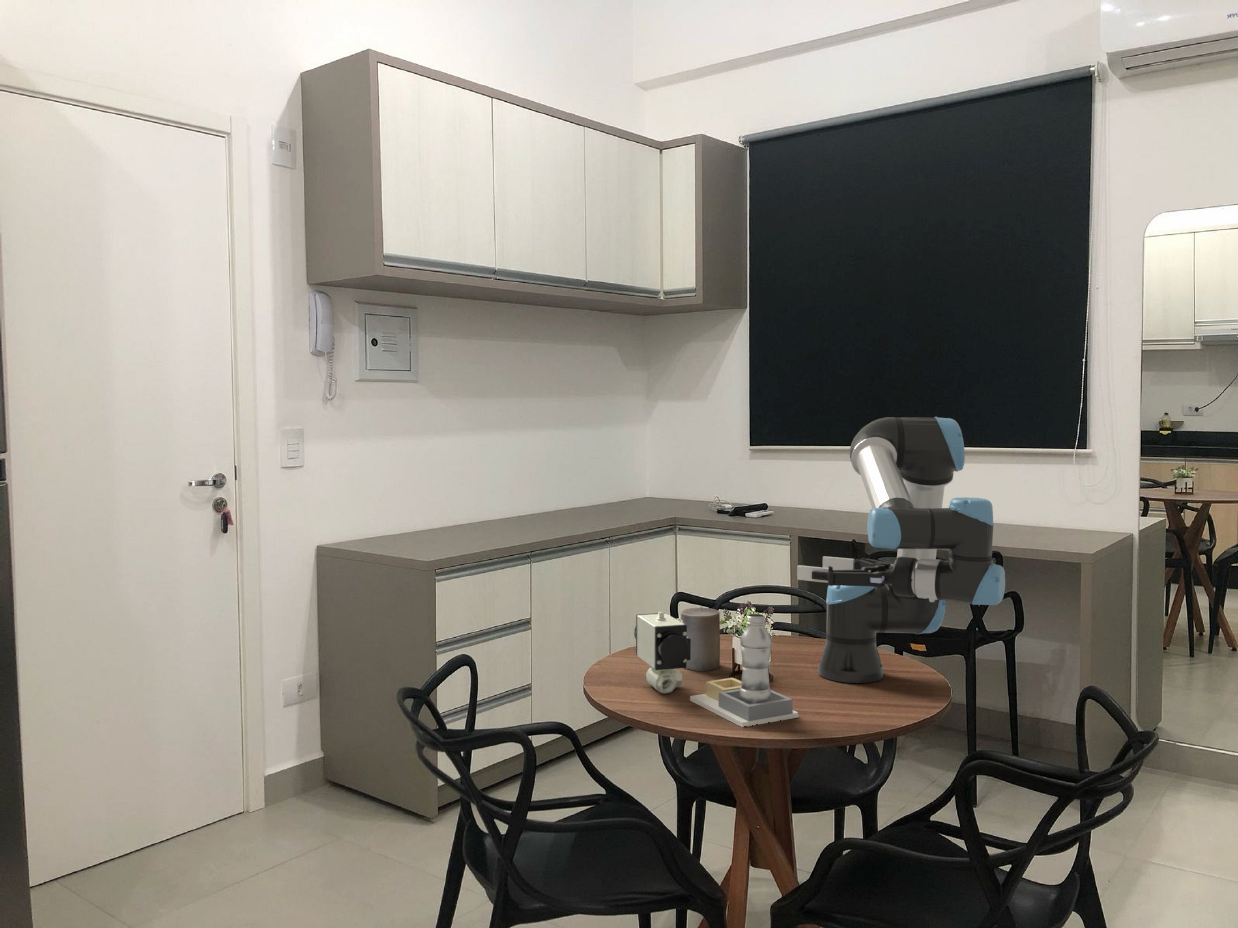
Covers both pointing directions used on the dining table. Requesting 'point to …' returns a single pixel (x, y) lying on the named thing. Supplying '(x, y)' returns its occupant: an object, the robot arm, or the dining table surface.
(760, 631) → the plastic bottle
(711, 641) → the pillar candle
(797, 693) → the dining table surface
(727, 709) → the fitting board
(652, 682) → the ball valve
